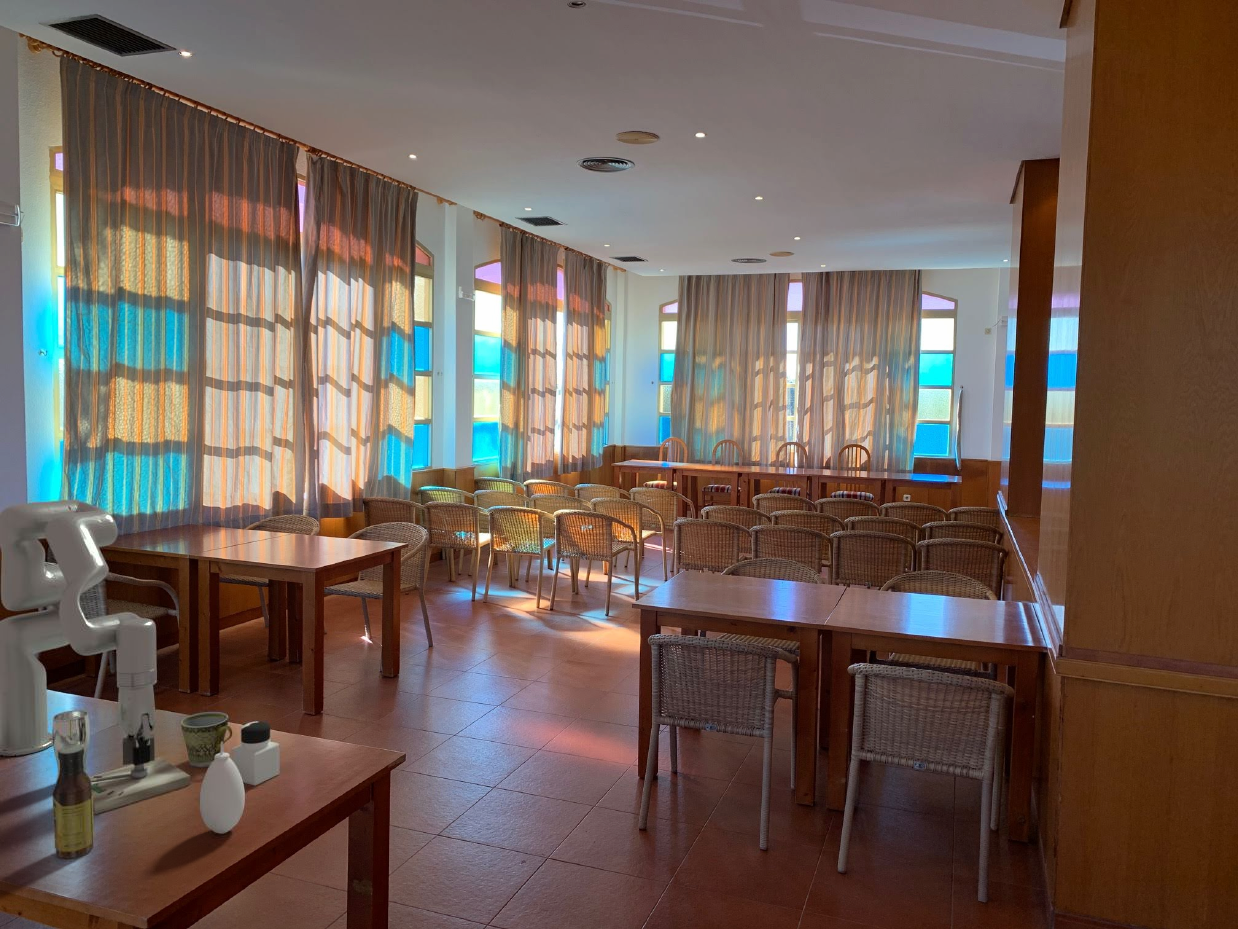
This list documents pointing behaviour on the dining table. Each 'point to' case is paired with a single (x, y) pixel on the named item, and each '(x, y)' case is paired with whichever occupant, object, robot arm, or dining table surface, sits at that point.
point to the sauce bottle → (73, 805)
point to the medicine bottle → (256, 754)
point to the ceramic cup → (204, 736)
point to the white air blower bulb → (222, 794)
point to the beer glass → (71, 732)
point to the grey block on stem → (138, 770)
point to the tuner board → (136, 785)
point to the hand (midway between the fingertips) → (138, 760)
